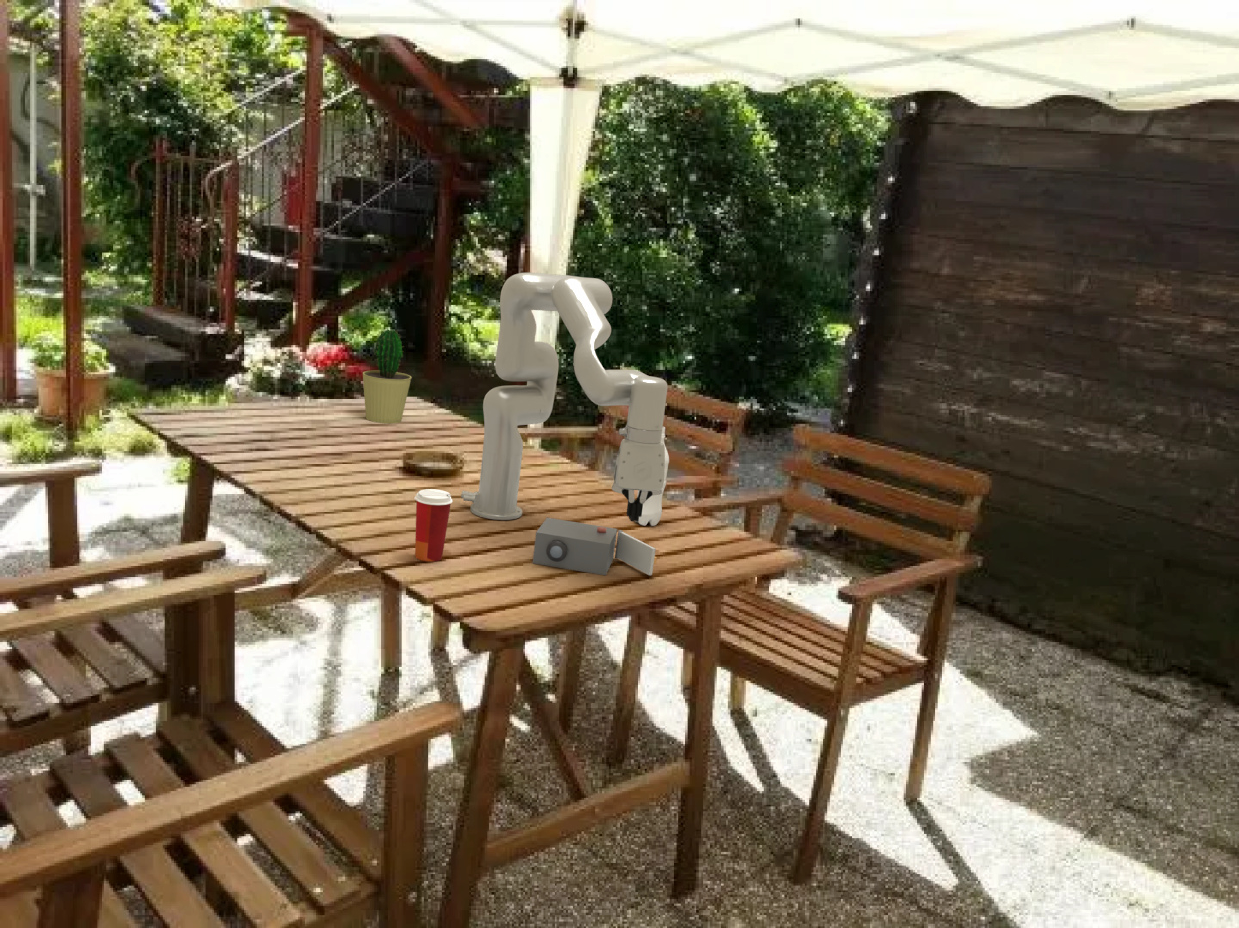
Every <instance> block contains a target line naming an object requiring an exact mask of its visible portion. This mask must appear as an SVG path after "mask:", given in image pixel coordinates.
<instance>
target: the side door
mask: <svg viewBox="0 0 1239 928" xmlns="http://www.w3.org/2000/svg"><path fill="white" fill-rule="evenodd" d="M656 552H657V551H656V548H655V547H653V546H652V545H649V544H647V543H646V542H643V541H642V540H639V539H637V538H636V537H634V536H633V535H630V534H628V533H626V532H624V531H623V530H621V529H617V536H616V544H615V551H614V558H615V559H617V560H620V561H622V562H624V563H625V564H628V565H629V566H631V567H632V568H634V569H637V570H638V571H640V572H642V573H644V574H646V575H648V576H652V575H653V570H654V565H657V559H658V557H657V556H656Z"/></svg>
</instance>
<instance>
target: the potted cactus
mask: <svg viewBox="0 0 1239 928" xmlns="http://www.w3.org/2000/svg"><path fill="white" fill-rule="evenodd" d="M398 331H399V329H398V330H393V329H392V328H391V330H390V329H384V330H383V331H381V333H380V334H377V335H378V336H377V337H375V339H376V341H375V343H374V346H375V347H373V350H372V351H373V353H374V355H375V357H376V362H377V364H375V365H376V367H378V369H377V370H374V369H373V370H365V371H363V372H362V382H363V394H364V395H363V396H364V409H365V410H364V411H365V419H366V420H368V421H370V422H374V423H379V424H398V423H401V422H402V419H403V416H404V415H403V414H404V411H405V406H406V402H407V398H408V393H409V390H410V386H411V385H410V384H411V380H412V378H413V377H412V376H411V375H409V374H407V373H402V372H400V370H401V369H399V366H401V362H402V361H401V359H402V358H403V357H404V353H403V348H404V347H405V346H404V345H403V346H402V344H403V343H402V341H401V338H402V337H403V335H401V334H400V333H399V334H398ZM403 359H404V358H403ZM398 370H399V372H398Z"/></svg>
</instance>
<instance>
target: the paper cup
mask: <svg viewBox="0 0 1239 928" xmlns="http://www.w3.org/2000/svg"><path fill="white" fill-rule="evenodd" d="M414 500H415V501H416V507H415V545H414V549H415V551H414V553H415V554H414V557H415V558H416V559H417V560H419V561H421V562H427V563H430V562H431V563H433V562H440V561H441V560H442V558H443V555H444V549H445V542H446V537H447V530H448V523H449V519H450V511H451V504H452V503H453V499H452V495H451V493H450V492H448V491H445V490H442V489H434V488H430V489H429V488H426V489H421V490H418V492H417V493H416V494H415V496H414Z"/></svg>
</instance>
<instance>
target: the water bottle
mask: <svg viewBox="0 0 1239 928" xmlns="http://www.w3.org/2000/svg"><path fill="white" fill-rule="evenodd" d="M665 431H666V427H665V426H663V428H662V437H661V443H663V444H664V446H665V471H664V484H663V488H662V494H660V495H654V496H651V497H650V498H648V499H647V500H646V501H645V503H643V508H642V516H641V517H639V521H638V522H637V521H635V520H634V522H635V523H638V524H639V525H640V526H644V527H645V526H647V524H648V523H649V525H650V526H651V527H654V526H657V524H658V523H660V520H661V518H662V514H663V510H662V508H663V505H662V504H663V502H662V501H663V495H664V491H665V488H666V486H667V477H668V476H667V474H668V467H669V464H670V456H669V453H668V449H667V447H666V445H665V438H666V433H665ZM638 493H639V490H637V497H638ZM637 497H636V498H637Z"/></svg>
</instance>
